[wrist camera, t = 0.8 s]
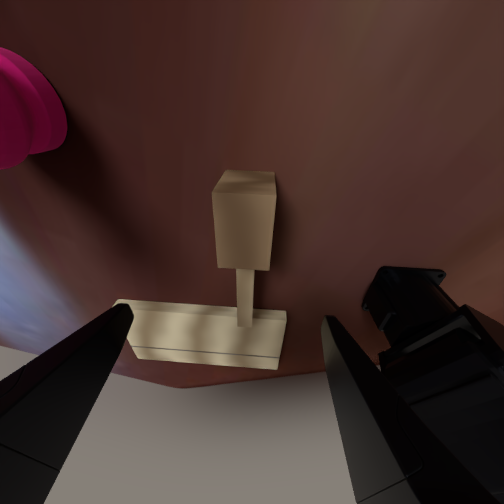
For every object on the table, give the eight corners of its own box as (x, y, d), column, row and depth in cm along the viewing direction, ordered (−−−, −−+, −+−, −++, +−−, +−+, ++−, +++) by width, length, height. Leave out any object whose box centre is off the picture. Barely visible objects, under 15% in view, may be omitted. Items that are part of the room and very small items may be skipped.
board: (285, 310, 27) (286, 321, 26) (276, 360, 34) (277, 369, 33) (118, 299, 28) (110, 308, 27) (142, 349, 35) (137, 358, 33)
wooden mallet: (274, 171, 17) (276, 195, 13) (262, 303, 27) (261, 344, 22) (226, 169, 18) (211, 192, 13) (231, 301, 27) (223, 341, 22)
